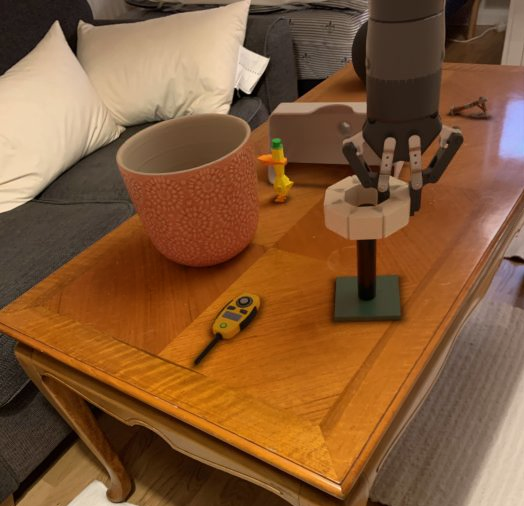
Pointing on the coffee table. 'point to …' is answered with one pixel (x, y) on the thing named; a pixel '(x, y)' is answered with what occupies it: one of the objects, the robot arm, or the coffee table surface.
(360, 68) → the decorative egg
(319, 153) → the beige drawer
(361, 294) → the peg stand
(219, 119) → the planter
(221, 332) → the yellow handheld probe meter
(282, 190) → the toy figure
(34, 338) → the coffee table surface
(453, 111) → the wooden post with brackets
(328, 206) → the ring
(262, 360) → the coffee table surface
